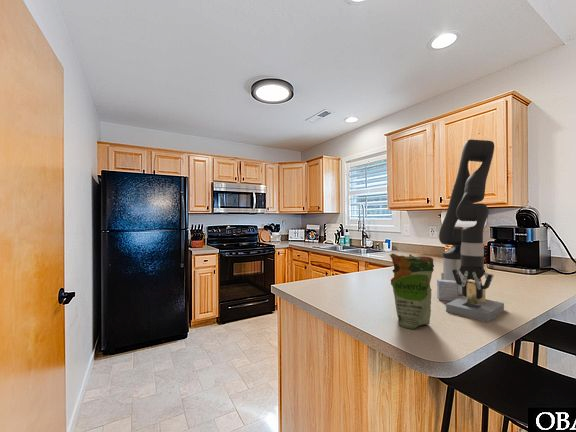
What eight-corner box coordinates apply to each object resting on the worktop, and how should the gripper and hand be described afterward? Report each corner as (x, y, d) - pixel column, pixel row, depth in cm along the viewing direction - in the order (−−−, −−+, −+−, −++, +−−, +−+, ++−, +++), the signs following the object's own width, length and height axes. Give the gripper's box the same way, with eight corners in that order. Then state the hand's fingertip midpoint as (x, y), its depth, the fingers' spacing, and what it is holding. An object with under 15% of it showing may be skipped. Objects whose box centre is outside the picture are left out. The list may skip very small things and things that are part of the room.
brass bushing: (464, 302, 106) (464, 282, 106) (468, 300, 108) (468, 280, 108) (476, 304, 102) (476, 283, 102) (479, 302, 105) (479, 282, 105)
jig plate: (446, 311, 107) (446, 291, 107) (464, 301, 120) (464, 283, 120) (488, 322, 96) (488, 300, 96) (504, 310, 108) (504, 290, 109)
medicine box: (456, 299, 123) (456, 280, 123) (458, 302, 119) (458, 282, 119) (436, 297, 126) (436, 279, 126) (438, 300, 122) (438, 281, 122)
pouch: (437, 329, 90) (437, 255, 90) (406, 332, 87) (406, 256, 87) (415, 317, 101) (415, 251, 101) (387, 320, 98) (387, 252, 98)
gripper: (497, 255, 102) (497, 300, 102) (455, 251, 113) (455, 291, 113) (490, 256, 98) (491, 304, 97) (448, 252, 109) (448, 295, 109)
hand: (472, 297), depth 105 cm, fingers closed on brass bushing, 4 cm apart
